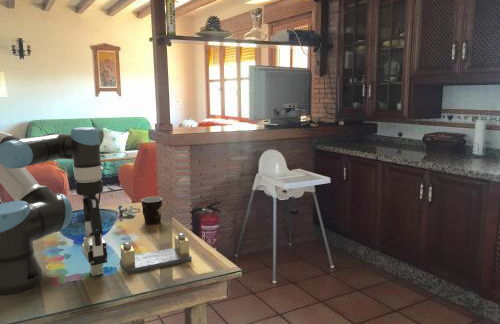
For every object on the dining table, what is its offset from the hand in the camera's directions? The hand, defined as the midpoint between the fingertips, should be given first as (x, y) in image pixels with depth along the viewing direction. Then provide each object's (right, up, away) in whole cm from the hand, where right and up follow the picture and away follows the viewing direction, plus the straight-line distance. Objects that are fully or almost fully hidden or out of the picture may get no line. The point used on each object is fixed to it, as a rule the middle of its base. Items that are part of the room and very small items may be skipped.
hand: (94, 248), depth 131 cm
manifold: (+16, -7, +11) cm, 21 cm away
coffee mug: (+5, 0, +49) cm, 50 cm away
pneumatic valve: (0, -8, +2) cm, 9 cm away
